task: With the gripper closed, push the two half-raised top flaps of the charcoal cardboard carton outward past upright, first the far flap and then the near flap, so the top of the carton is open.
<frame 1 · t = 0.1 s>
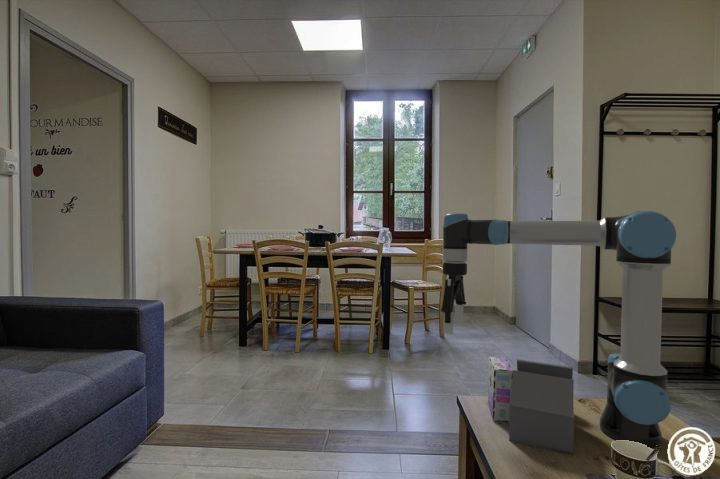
hand: (453, 328, 127), 28 cm above the table, tool pointing down, fingers open, 13 cm apart
far flap: (544, 375, 125), point 14 cm above the table, hinge at 60.0°
candy box: (499, 413, 130), on the table
carton: (541, 431, 118), on the table
near flap: (541, 392, 111), point 14 cm above the table, hinge at 60.0°
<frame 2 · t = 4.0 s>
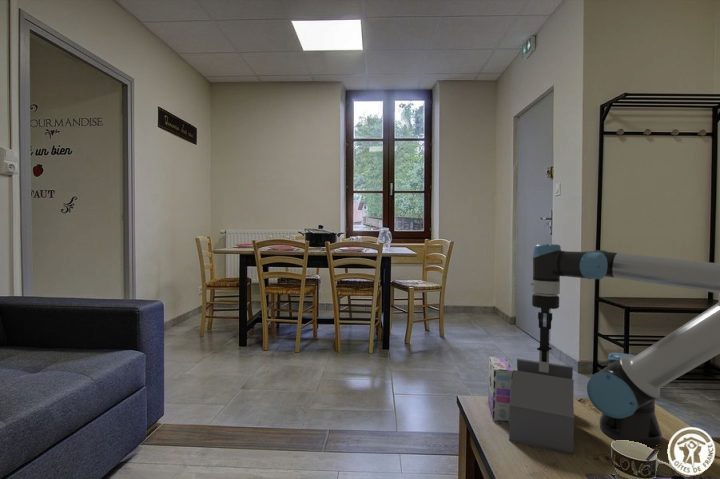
hand: (543, 371, 122), 16 cm above the table, tool pointing down, fingers closed
far flap: (544, 374, 125), point 14 cm above the table, hinge at 62.2°, touching gripper
everything else where it was.
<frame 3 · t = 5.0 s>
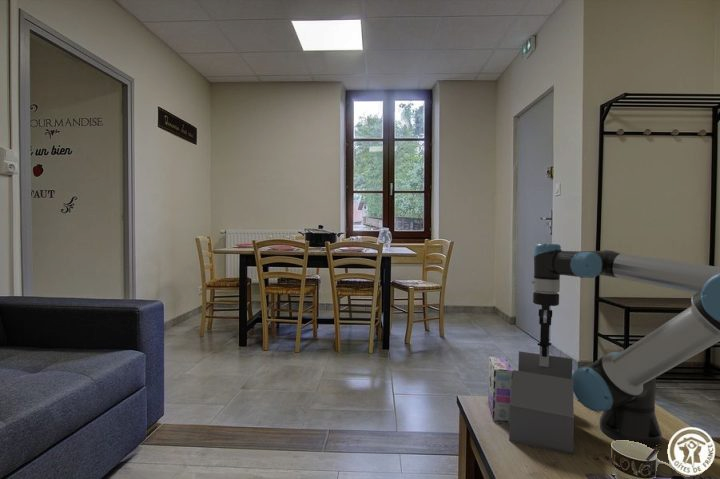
hand: (543, 365, 127), 16 cm above the table, tool pointing down, fingers closed
far flap: (544, 370, 128), point 15 cm above the table, hinge at 99.6°, touching gripper
everything else where it was.
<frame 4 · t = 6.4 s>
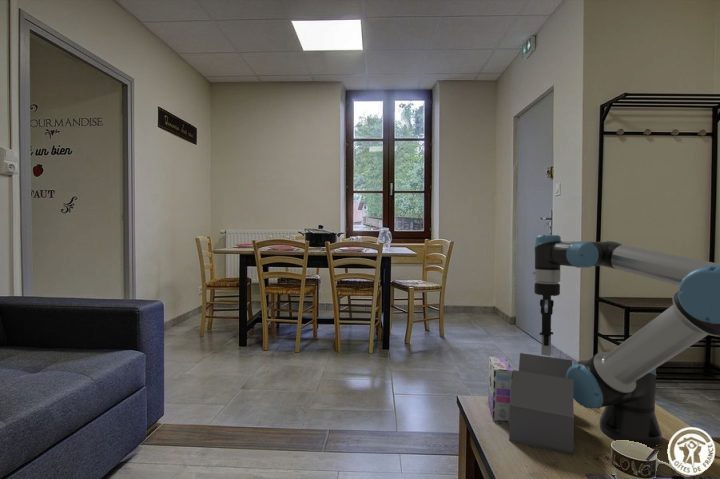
hand: (546, 354, 130), 19 cm above the table, tool pointing down, fingers closed
far flap: (544, 371, 129), point 14 cm above the table, hinge at 124.7°
everything else where it was.
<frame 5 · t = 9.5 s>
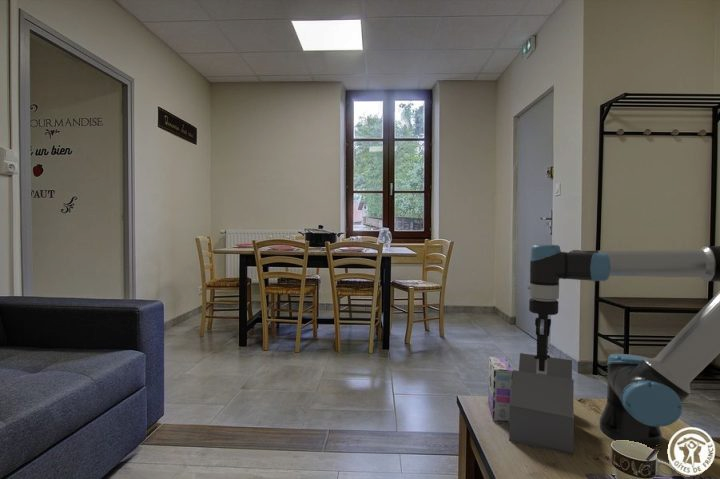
hand: (541, 381, 114), 17 cm above the table, tool pointing down, fingers closed
near flap: (541, 392, 111), point 14 cm above the table, hinge at 60.5°, touching gripper
everything else where it was.
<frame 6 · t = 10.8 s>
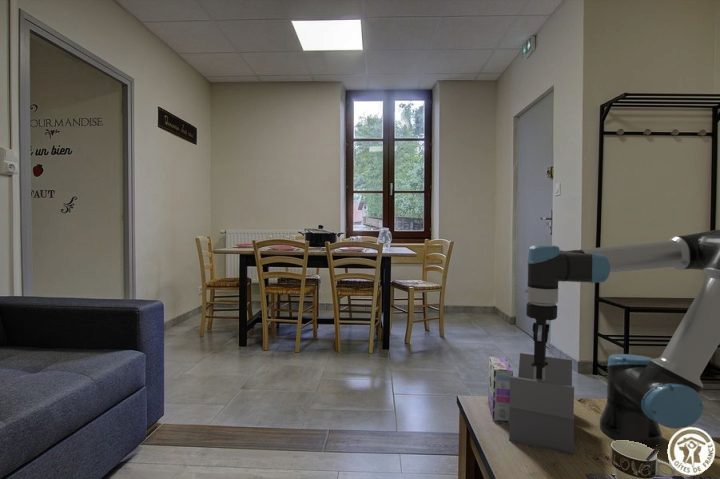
hand: (538, 389, 108), 17 cm above the table, tool pointing down, fingers closed
near flap: (540, 397, 107), point 15 cm above the table, hinge at 106.8°, touching gripper
everything else where it was.
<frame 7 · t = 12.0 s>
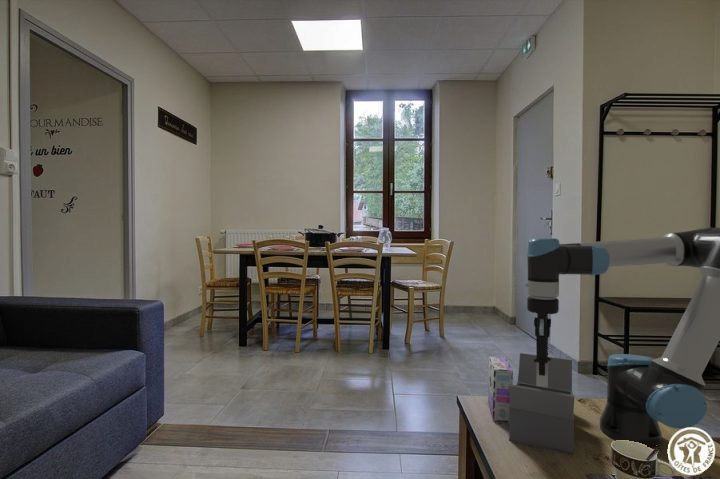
hand: (542, 385, 105), 18 cm above the table, tool pointing down, fingers closed
near flap: (540, 401, 106), point 14 cm above the table, hinge at 124.4°, touching carton
everything else where it was.
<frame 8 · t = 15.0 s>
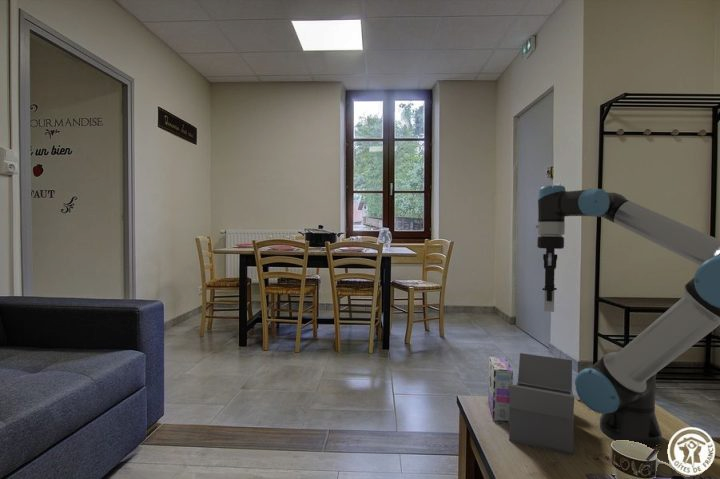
hand: (549, 311, 125), 34 cm above the table, tool pointing down, fingers closed
near flap: (540, 401, 106), point 14 cm above the table, hinge at 124.5°
everything else where it was.
at the end: far flap at +125° (first picture: +60°); near flap at +124° (first picture: +60°) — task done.
